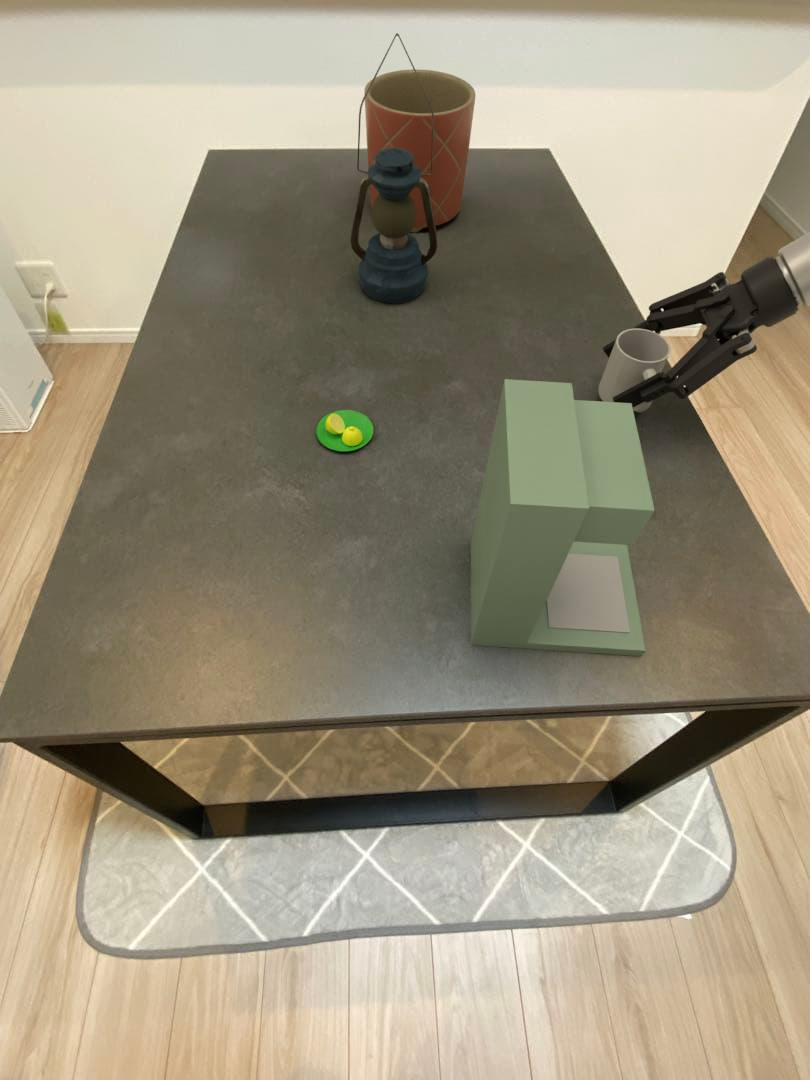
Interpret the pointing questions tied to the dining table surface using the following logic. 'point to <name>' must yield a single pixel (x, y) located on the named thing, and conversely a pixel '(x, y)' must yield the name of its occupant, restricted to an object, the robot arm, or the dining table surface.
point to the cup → (633, 363)
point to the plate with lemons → (344, 430)
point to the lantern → (394, 223)
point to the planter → (423, 133)
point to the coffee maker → (559, 524)
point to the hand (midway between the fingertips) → (612, 379)
